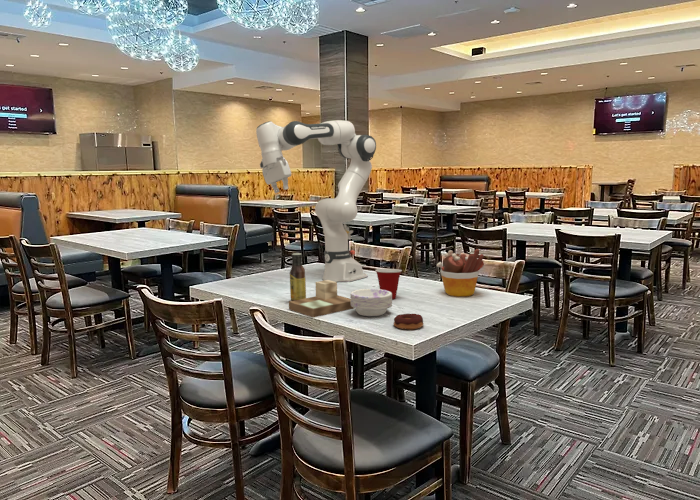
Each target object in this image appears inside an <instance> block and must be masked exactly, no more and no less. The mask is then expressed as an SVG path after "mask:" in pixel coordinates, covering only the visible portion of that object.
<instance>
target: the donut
mask: <svg viewBox="0 0 700 500" xmlns="http://www.w3.org/2000/svg"><path fill="white" fill-rule="evenodd" d="M393 326H394V327H395V328H397V329H401V330H404V331H405V330H407V331H413V330H418V329H421V328H422V327H423V326H424V318H423V315H421V314H417V313H401V314H397V315H396V316H395V317H394V319H393Z"/></svg>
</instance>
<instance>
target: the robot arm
mask: <svg viewBox="0 0 700 500" xmlns="http://www.w3.org/2000/svg"><path fill="white" fill-rule="evenodd" d="M255 131H256V132H255V134H256V139H257V143H258V146H259V148H260V150H261V155H260V156H261V157H262V158H261V161H260V163H259V168H260V169H261V172H262V176H263V179H264V182H265V183H266V185H271V187H272V189H273V191H274V194H278V193H280V189H279V187H278V184H277V183H278V182H281V181H282V184H283V185H282V189H283V190H284V191H285V190H288V189H289V183H288V182H289V179H288V178H290V177H291V176H292V170H291V168H290V165H289V162H288V160H287V159H286V158H285V156H284V154H283V152H284V151H290V150H291V149H293V148H295V147H297V146H300V145H302V144H305V143H306V141H309V140H315V139H317V140H318V142H319V143H320V144H321V145H324V146H334V145H337V151H338V154H339V155H340V157H342V158H343V159H347V160H348V159H349V160H350V164H349V166H348V168H346V170H345V172H344V174H343V175H342V177H341V179H340V181H339V182H338V183H337V187H338V188H337V189H338V193H337V196H336V197H335V198H332V197H331V198H327V197H326V198H323V199H320V200H319V201H317V203H316V204H315V207H314V211H315V215H316V216H317V218H318V219H319V221H320V223H321V226H322V230H323V231H324V233H323V234H324V245H325V246H324V248H325V250H324V261H325V262H324V271H323V276H322V281H324V280H330V281H334V282H337V283H338V282H344V283H346V282H353V281H357V280H361V279H364V278H368V274H367V273H364V271H363V267H362V264H361V263H360V262H358V261H357V260H356V259H354V258H353V257H352V255H355V254H356V250H352V249H351V250H350V249H349V239H348V234H347V232H346V231H345V230H344V228H343V227H344V224H343V225H342V223H348V222H352V221H353V220H355V219H356V217H357V215H358V207H357V200H358V197H359V195H360V193H361V191H362V189H363V188H364V186H365V184H366V182H367V180H368V179H369V176H370V175H371V172H372V168H373V167H372V166H373V165H372V162H371V160H372V159H373V158H374V155H375V152H376V149H377V142H376V140H375V138H374V137H373V136H371V135H369V134H357V133H356V129H355V125H354V124H353V123H352V122H351V121H349V120H343V119H342V120H341V119H337V120H327V121H323V122H321V123H309V124H308V123H304V122H301V121H298V120H293V121H290V122H289V123H288V124H286V125H285V126H280V125H277V124H276V123H274V122H273V121H271V120H269V121H266V122H263V123H261V124H259V125H258V126H257V128H256V129H255Z"/></svg>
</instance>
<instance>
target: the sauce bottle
mask: <svg viewBox="0 0 700 500" xmlns="http://www.w3.org/2000/svg"><path fill="white" fill-rule="evenodd" d="M302 258H303V254H302V253H299V252H294V253H291V259H292V265H291V267H290V268H291V269H290V272H289V289H290V290H289V292H290V293H289V294H290V295H289V296H290V301H295V300H300V299H305V298H307V289H306V288H307V287H306V286H307V285H306V284H307V283H306V282H307V281H306V269H305V267H304V266H303V259H302Z"/></svg>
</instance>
